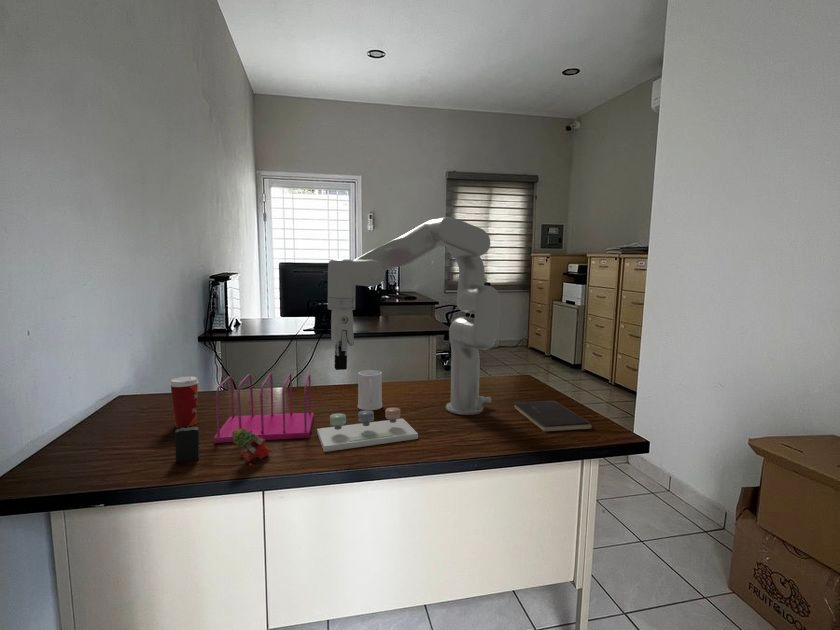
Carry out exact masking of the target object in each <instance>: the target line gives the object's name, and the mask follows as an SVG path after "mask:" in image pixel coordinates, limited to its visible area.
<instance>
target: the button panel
mask: <svg viewBox="0 0 840 630" xmlns="http://www.w3.org/2000/svg"><path fill="white" fill-rule="evenodd" d="M316 434H317V436H318V440H319V442H320V445H321V448H322V450H323V452H324V453H325V452H326V453H327V452H332V451H333V452H334V451H339V450H347V449H353V448H354V449H355V448H361V447H368V446H376V445H382V444H390V443H397V442H403V441H411V440H412V441H413V440H417V439H419V433H418V432H417V431H416V430H415V429H414V428H413V427H412V426H411V425H410V424H409V423H408V422H407V421H406V420H405V419H404V418H398V419H396V422H395V423H391V422H389V419H387V420H379V421H372V422H370V425H369V426H363V422H360V423H354V424H344V425H342V429H339V430H336V429H334V426H329V427H321V428H317V429H316Z"/></svg>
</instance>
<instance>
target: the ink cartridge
mask: <svg viewBox="0 0 840 630" xmlns="http://www.w3.org/2000/svg"><path fill="white" fill-rule="evenodd" d="M174 434H175V435H174V439H175V441H174V442H175V446H174V447H175V463H177V464H181V463H182V464H183V463H189V462H196V461H199V458H200V430H199V427H198V426H191V427H187V428H177V429H175V432H174Z"/></svg>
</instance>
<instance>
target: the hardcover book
mask: <svg viewBox="0 0 840 630" xmlns="http://www.w3.org/2000/svg"><path fill="white" fill-rule="evenodd" d="M512 404H514V406H513V407H515V409H516V410H517V411H518V412H519V413H521V415H523V416H524V417H525V418H527V420H529V421H530V422H531V423H533V424H534V425H535V426H537V427H538V428H540V430H542V431H543V432H557V431H572V430H586V429H587V430H593V424H592V423H591V422H590V421H588V420H587V419H585V418H583V417H582V416H580V415H579V414H576V413H575V412H573V411H572V410H570V409H569V408H567V407H566V406H564V405H562V404H561V403H559V402H558V401H556V400H535V401H534V400H533V401H516V402H515V401H513V402H512Z"/></svg>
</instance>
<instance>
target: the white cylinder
mask: <svg viewBox="0 0 840 630" xmlns="http://www.w3.org/2000/svg"><path fill="white" fill-rule="evenodd" d="M357 377H358V379H357V383H358V385H357V386H358V387H357V389H358V390H357V392H358V395H357V399H358V401H357V402H358V403H357V408H358V409H360V410H361V411H365V410H368V411H375V410H380V409H381V408H383V399H382V398H383V395H382V394H383V392H382V391H383V390H382V389H383V380H382V379H383V372H382V371H380V370H378V369H377V370H376V369H365V370H361V371H359V372H357Z"/></svg>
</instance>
